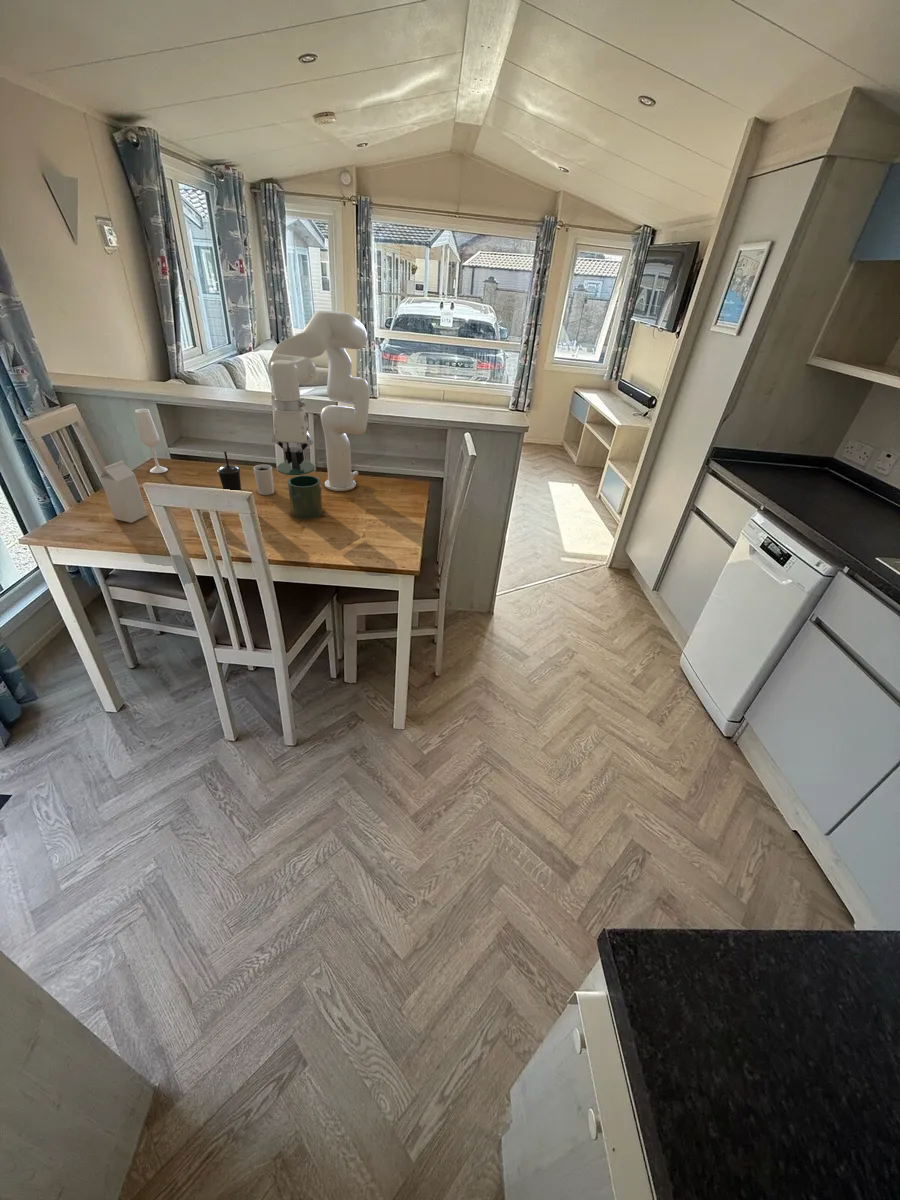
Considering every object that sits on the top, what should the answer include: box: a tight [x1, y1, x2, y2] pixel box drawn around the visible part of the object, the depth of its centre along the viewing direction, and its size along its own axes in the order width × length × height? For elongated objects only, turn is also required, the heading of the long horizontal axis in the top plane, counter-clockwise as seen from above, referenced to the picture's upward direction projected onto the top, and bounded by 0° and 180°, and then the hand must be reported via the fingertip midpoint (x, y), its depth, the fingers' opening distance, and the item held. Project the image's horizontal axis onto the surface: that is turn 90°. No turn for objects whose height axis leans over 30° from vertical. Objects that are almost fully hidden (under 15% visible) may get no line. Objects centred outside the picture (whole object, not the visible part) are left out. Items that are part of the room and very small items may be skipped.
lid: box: [276, 448, 316, 476], centre depth 165 cm, size 12×12×7 cm
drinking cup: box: [216, 451, 242, 491], centre depth 181 cm, size 8×8×20 cm
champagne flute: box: [134, 408, 169, 474], centre depth 201 cm, size 7×7×24 cm
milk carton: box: [99, 460, 148, 524], centre depth 168 cm, size 7×7×19 cm
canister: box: [287, 474, 324, 520], centre depth 181 cm, size 11×11×12 cm
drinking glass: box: [252, 464, 275, 496], centre depth 195 cm, size 7×7×10 cm
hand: (295, 461), depth 165 cm, fingers closed on lid, 2 cm apart
